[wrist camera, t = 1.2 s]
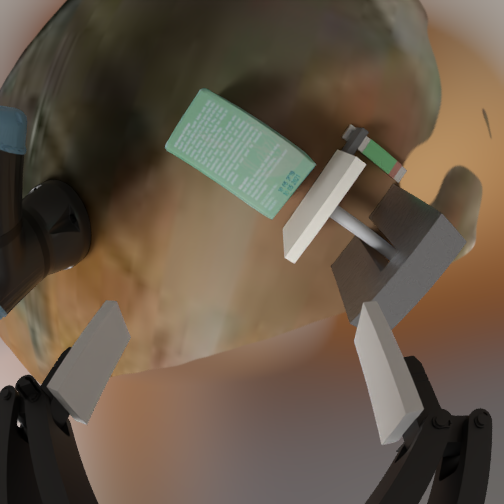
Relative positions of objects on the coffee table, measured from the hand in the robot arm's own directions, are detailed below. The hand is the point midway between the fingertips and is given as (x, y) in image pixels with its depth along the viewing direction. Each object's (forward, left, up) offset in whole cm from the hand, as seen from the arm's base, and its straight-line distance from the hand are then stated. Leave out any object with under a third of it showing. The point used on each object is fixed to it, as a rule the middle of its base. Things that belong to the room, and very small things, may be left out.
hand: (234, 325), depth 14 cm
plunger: (+11, +7, -22) cm, 25 cm away
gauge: (+11, +6, -22) cm, 25 cm away
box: (-5, +5, -22) cm, 24 cm away
